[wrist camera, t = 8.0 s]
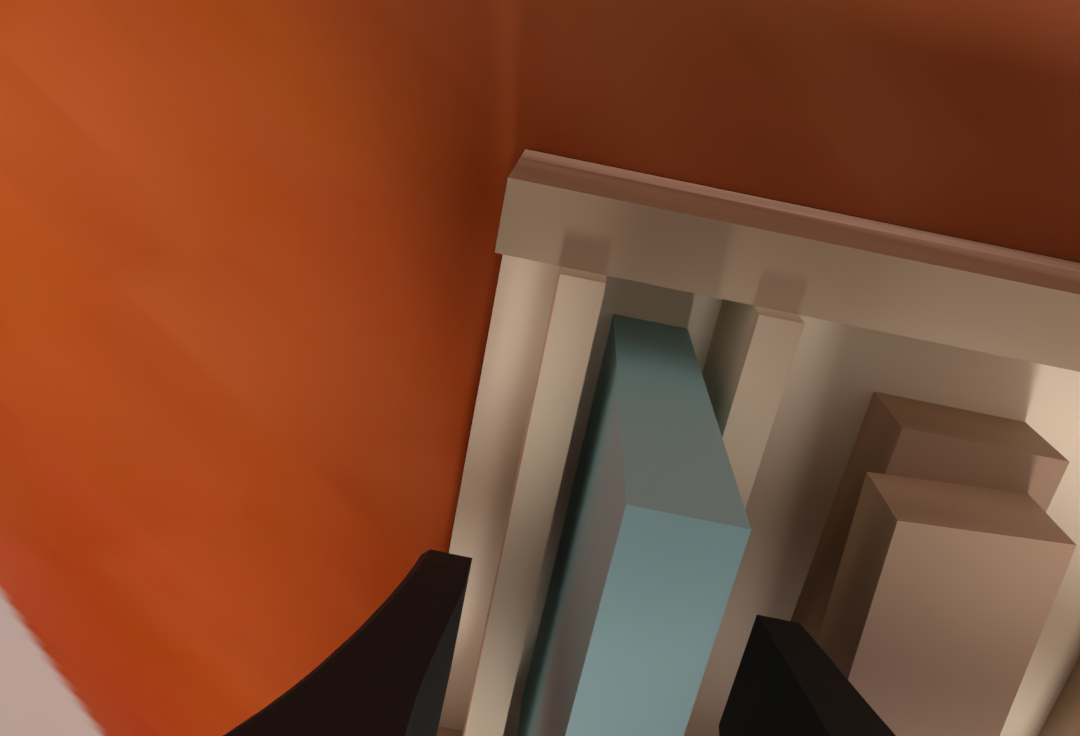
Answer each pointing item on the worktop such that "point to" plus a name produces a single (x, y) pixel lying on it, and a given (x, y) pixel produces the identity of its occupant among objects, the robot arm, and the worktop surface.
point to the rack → (742, 394)
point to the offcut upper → (942, 602)
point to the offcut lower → (926, 472)
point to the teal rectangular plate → (638, 549)
